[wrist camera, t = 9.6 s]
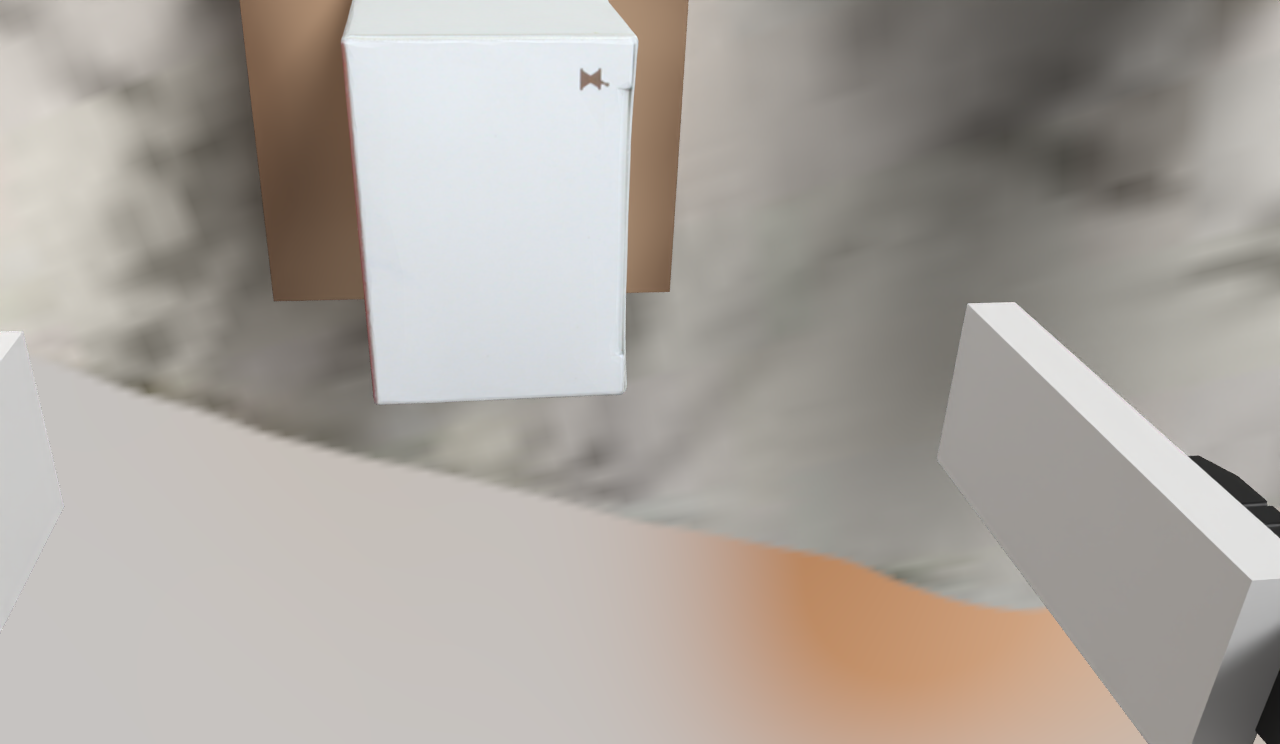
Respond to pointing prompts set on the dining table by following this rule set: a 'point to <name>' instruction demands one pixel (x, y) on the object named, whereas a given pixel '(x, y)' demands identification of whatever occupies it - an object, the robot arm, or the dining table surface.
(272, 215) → the walnut block
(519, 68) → the small box
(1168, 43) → the dining table surface
